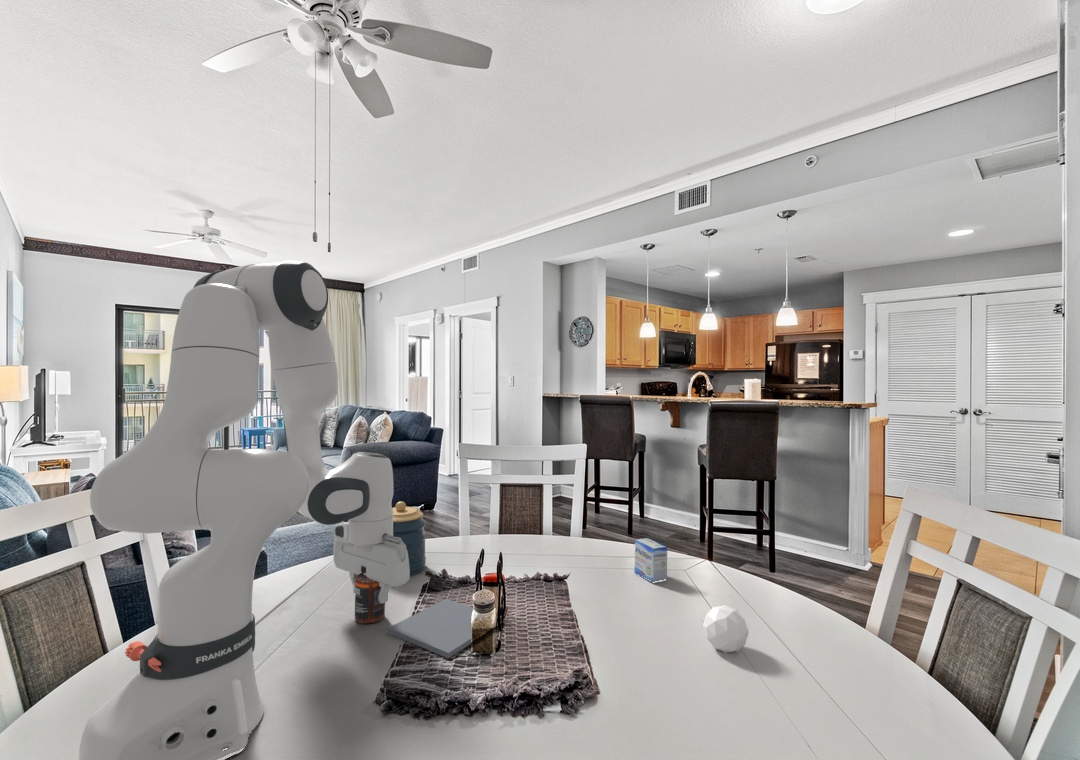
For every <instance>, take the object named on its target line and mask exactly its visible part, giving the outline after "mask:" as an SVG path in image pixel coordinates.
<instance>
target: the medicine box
mask: <svg viewBox="0 0 1080 760" xmlns="http://www.w3.org/2000/svg"><path fill="white" fill-rule="evenodd" d="M633 573H637V574H639V575H641V576H643V577H645V578H647V579H649V580H651V581H652V582H655V581H659V580H664V579H667V580H668V546H665V545H663V544H661V543H659V542H657V541H654V540H652V539H650V538H639V539H635V541H634V572H633ZM637 574H636V575H637ZM639 575H638V576H639ZM641 576H640V577H641Z"/></svg>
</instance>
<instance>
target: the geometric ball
mask: <svg viewBox="0 0 1080 760" xmlns="http://www.w3.org/2000/svg"><path fill="white" fill-rule="evenodd" d="M702 628H703V631H704V633H705V636H706V639H707V640H708V642H709V643H710V644H711V646H712V648H714V649H716V650H718V649H719V650H718V651H720V650H721V651H720V652H723V651H725V652H729V653H733V652H734V651H736V652H739V651H740V650H741V649H743V647H744V646H745V645H746V643H747V640H748V637H749V628H748V625H747V623H746V619H745V618H744V616H742V614H741V613H740V612H739V611H738V609H735V608H733V607H730V606H728V605H726V604H724V605H723V604H722V605H717V606H713V607H712V608H711V609H710V610H709V611H708V612H707V613H706V614H705V618H704V622H703V624H702ZM725 652H724V653H725ZM734 653H735V652H734Z"/></svg>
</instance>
